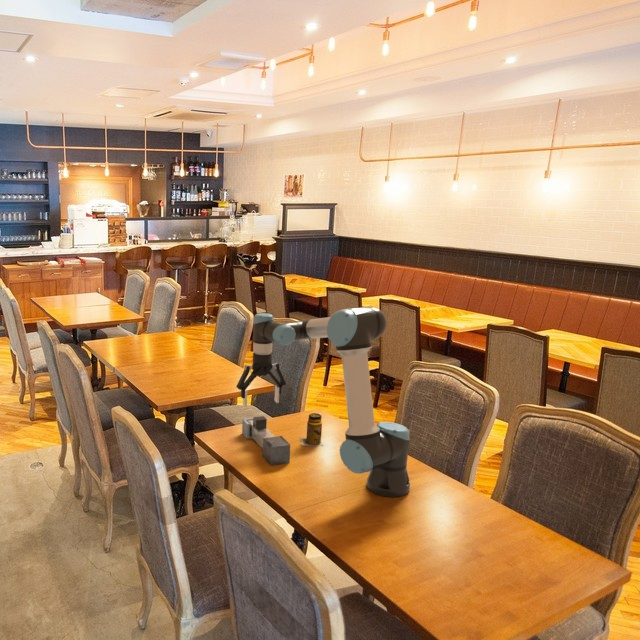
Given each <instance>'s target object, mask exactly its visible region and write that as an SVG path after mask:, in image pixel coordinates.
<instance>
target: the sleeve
mask: <svg viewBox="0 0 640 640" xmlns="http://www.w3.org/2000/svg"><path fill="white" fill-rule="evenodd" d="M262 458H264V460H265V461H266V462H267V463H268V464H269V465H270V466H271V467H273V466H279V465H285V464H290V459H291V444H290V443H289V441H288V440H286V439H285V438H284V436H282V435H278V436H275V437H269V438H263V449H262Z"/></svg>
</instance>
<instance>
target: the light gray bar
mask: <svg viewBox="0 0 640 640" xmlns="http://www.w3.org/2000/svg"><path fill="white" fill-rule="evenodd" d="M252 418H253V420H249V421H248V423H249V424H250V433H249V434H250V436H251V437H252V438H251V439H252V440H254V442H256V444H257V445H259V447H260V448H261V449H262V450H263V438H269V437H276V436H275V435H274V434H273V433H272V432H271V431H270V430H269V429H268V428H267V423H268V422H267V420H268V419H267V418H266V417H265V415H263V416H262V415H261V416H254V417H252Z"/></svg>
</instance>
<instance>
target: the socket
mask: <svg viewBox="0 0 640 640" xmlns="http://www.w3.org/2000/svg"><path fill="white" fill-rule="evenodd" d="M249 420H253V417H249V418H243V419H242V425H241V427H242V431H241V434H242V435H243V437H245V438H246V440H249V439H250V440H251V439H253V438H252V437H251V436H250V434H249V433H250V424H249V423H248V421H249Z"/></svg>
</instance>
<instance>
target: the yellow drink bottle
mask: <svg viewBox="0 0 640 640" xmlns="http://www.w3.org/2000/svg"><path fill="white" fill-rule="evenodd" d="M306 422H307V425H306V438H304V437H300V443H301V446H302V447H303V446H304V447H305V446H307V447H311V446H312V447H322V446H324V445H323V443H322V431H323V430H322V427H323V421H322V414H320V413H316V412H313V413H309V414H308V419H307V421H306Z"/></svg>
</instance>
